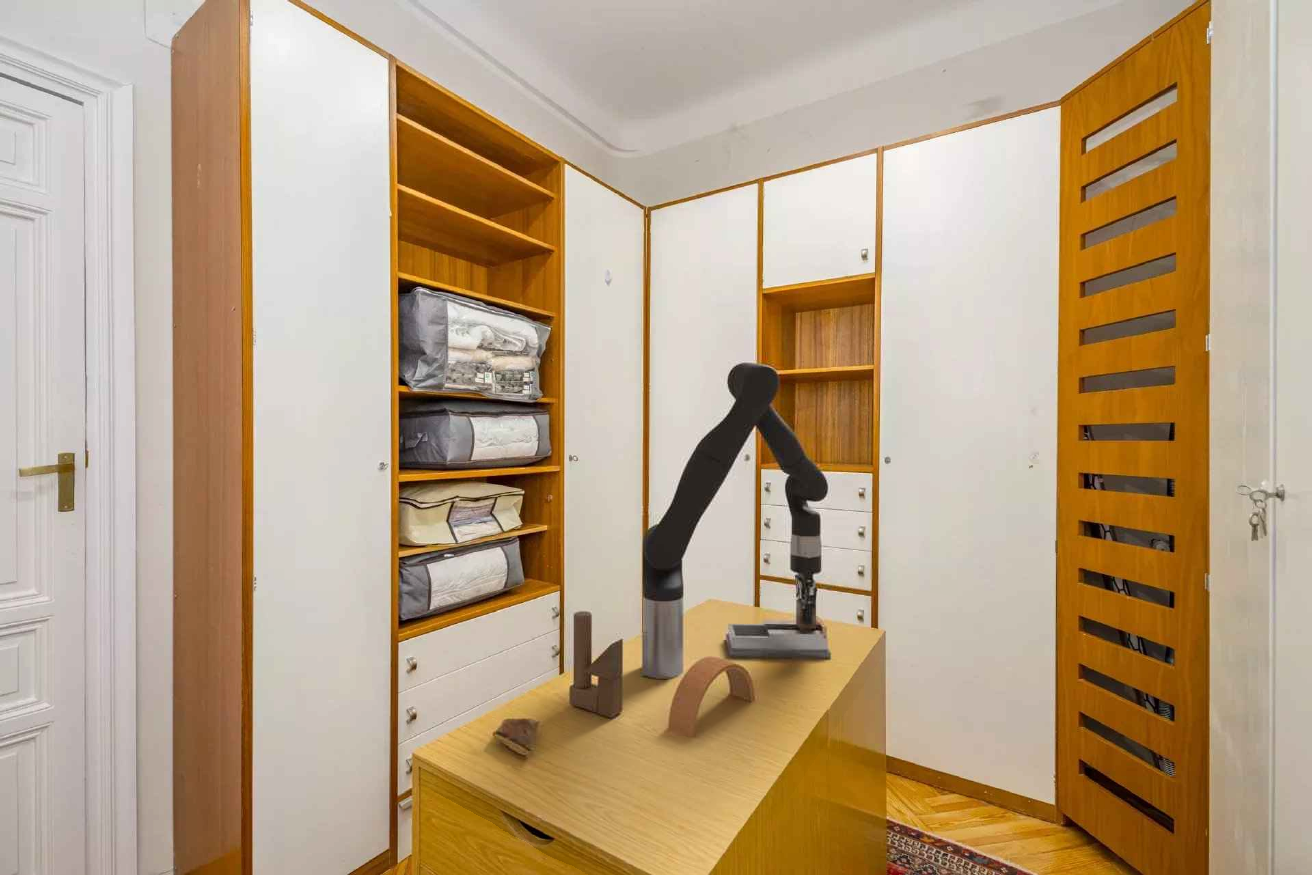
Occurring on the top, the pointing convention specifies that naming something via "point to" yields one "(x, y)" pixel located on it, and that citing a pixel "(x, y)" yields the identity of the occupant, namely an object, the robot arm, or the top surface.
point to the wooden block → (595, 671)
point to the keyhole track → (777, 640)
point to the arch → (698, 684)
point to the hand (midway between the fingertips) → (805, 620)
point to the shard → (517, 734)
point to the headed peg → (800, 616)
